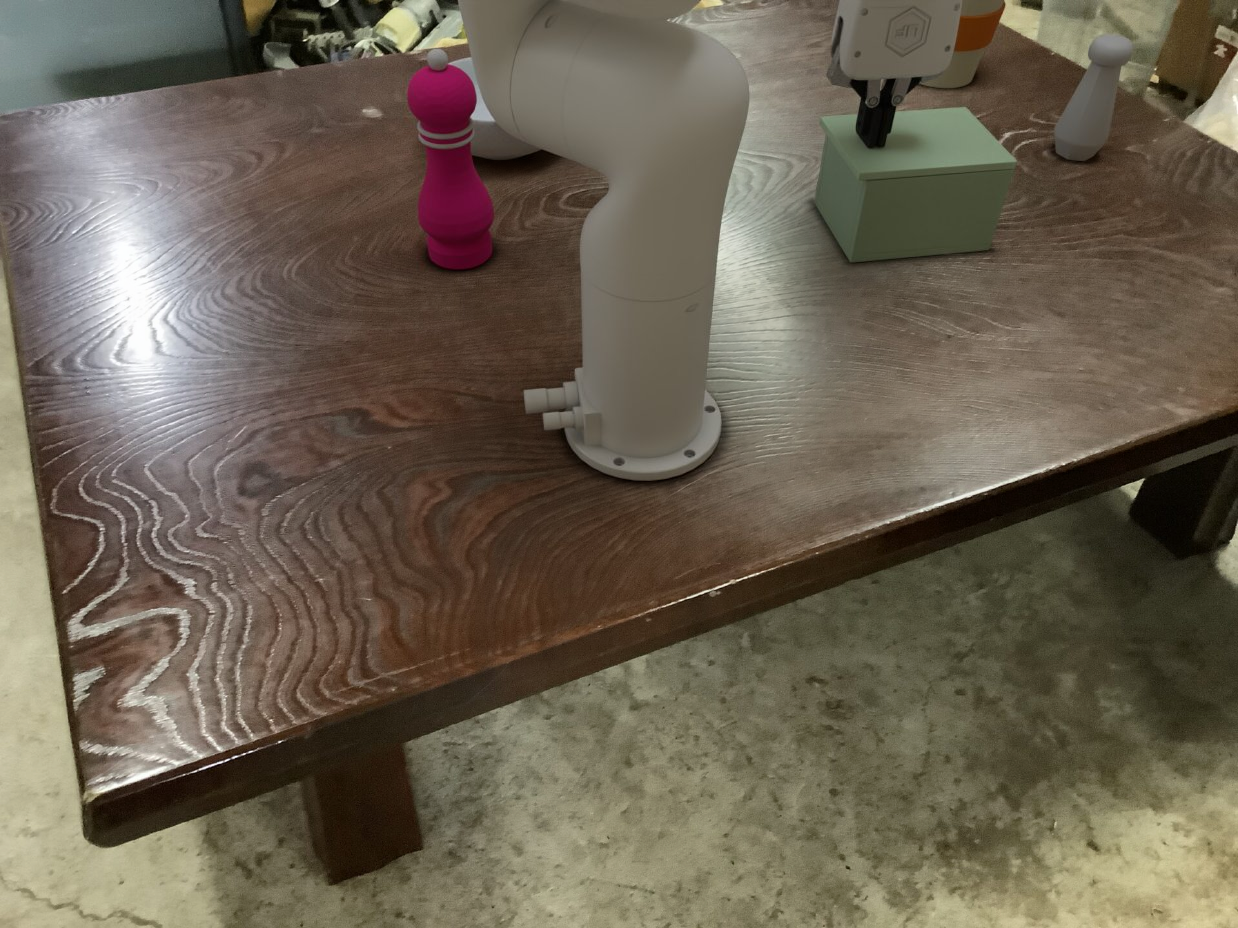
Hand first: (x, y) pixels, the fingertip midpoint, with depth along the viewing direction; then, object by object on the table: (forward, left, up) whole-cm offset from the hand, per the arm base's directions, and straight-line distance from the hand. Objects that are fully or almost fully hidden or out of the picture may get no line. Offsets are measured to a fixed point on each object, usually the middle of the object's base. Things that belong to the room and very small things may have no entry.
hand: (870, 140), depth 94 cm
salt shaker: (+31, +12, -10) cm, 35 cm away
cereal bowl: (-34, +24, -10) cm, 43 cm away
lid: (+5, 0, -1) cm, 5 cm away
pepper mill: (-40, +2, -10) cm, 41 cm away
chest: (+5, 0, -10) cm, 11 cm away
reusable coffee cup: (+24, +35, -10) cm, 44 cm away
